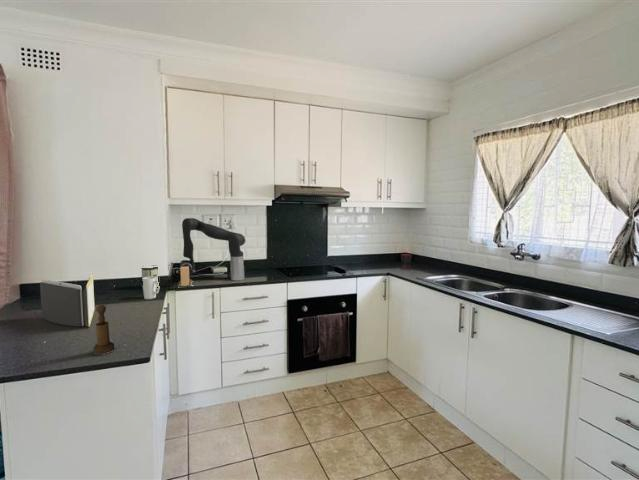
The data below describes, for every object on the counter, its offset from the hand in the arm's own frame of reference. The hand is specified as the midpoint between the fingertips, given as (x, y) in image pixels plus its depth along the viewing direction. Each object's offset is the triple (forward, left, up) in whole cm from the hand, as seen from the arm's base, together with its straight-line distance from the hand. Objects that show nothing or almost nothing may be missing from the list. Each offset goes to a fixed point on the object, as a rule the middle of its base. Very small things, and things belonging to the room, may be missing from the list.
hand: (185, 273), depth 228 cm
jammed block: (0, +2, -8) cm, 8 cm away
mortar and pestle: (+24, +99, -8) cm, 102 cm away
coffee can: (+21, +1, -8) cm, 23 cm away
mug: (+17, +26, -8) cm, 32 cm away
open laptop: (+45, +52, -8) cm, 69 cm away
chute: (0, -1, -8) cm, 8 cm away
